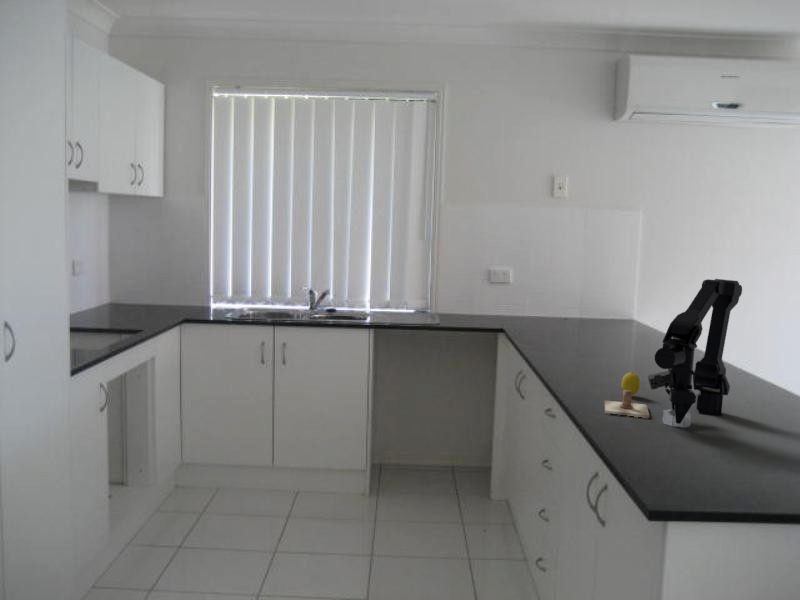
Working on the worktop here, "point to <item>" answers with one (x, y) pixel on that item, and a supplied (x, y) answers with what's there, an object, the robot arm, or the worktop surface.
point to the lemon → (631, 382)
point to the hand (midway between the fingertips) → (676, 419)
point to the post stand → (627, 407)
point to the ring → (671, 419)
